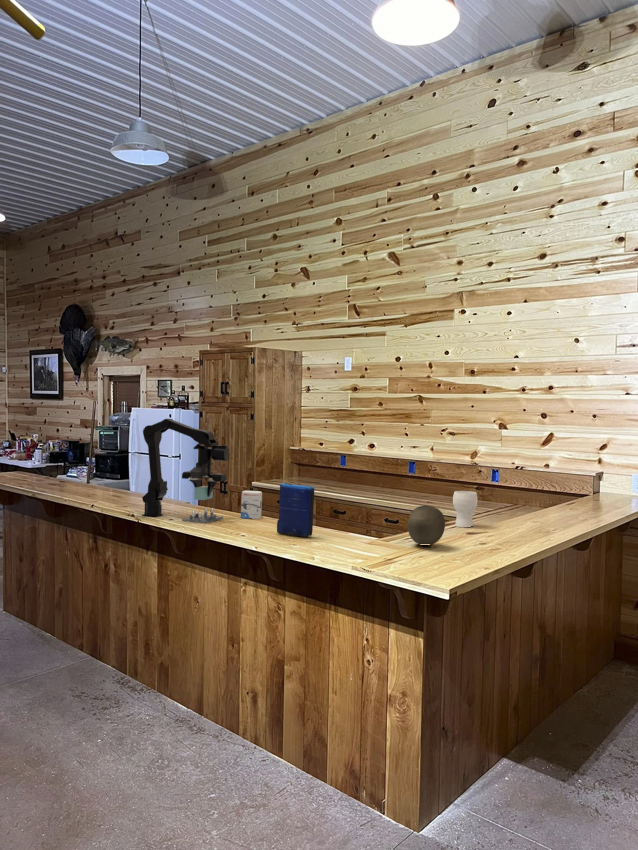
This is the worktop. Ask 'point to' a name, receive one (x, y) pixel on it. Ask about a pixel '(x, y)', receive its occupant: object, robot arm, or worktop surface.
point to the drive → (202, 493)
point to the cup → (464, 507)
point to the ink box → (251, 504)
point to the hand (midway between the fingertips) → (203, 496)
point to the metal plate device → (203, 517)
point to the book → (295, 510)
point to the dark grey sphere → (426, 525)
